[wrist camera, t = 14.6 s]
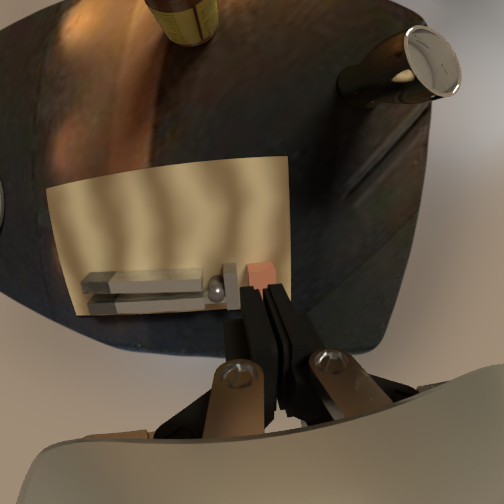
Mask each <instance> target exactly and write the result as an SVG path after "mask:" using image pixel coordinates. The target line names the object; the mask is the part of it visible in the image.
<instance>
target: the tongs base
mask: <svg viewBox="0 0 504 504" xmlns="http://www.w3.org/2000/svg"><path fill="white" fill-rule="evenodd" d="M223 276H224V279H223V277H222V276H220V275H214V276H212V277H211V278H210V280H209V290H205V286H203V288H202V291H193V292H163V293H111V294H94V295H93V296H92V297H91V299H90V300H89V301H88V302H87V307H88V310H89V313H90V315H106V314H118V313H145V312H165V311H183V310H198V309H205V306H206V304H214V303H227V310H236V309H240V299H239V288H238V276H237V266H236V262H233V263H223ZM224 285H225V289H224Z"/></svg>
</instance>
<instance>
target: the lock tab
mask: <svg viewBox="0 0 504 504" xmlns="http://www.w3.org/2000/svg"><path fill="white" fill-rule="evenodd" d="M247 273H248V286H254V289H259V290H260V294H261V297H262V300H263V288H267V286H268V284H276V269H275V267H274V265H273V262H264V263H252V264H247Z"/></svg>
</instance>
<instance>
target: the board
mask: <svg viewBox="0 0 504 504" xmlns="http://www.w3.org/2000/svg"><path fill="white" fill-rule="evenodd" d="M46 193H47V200H48V206H49V212H50V218H51V223H52V228H53V233H54V238H55V242H56V246H57V251H58V255H59V259H60V263H61V266H62V270H63V274H64V277H65V281H66V284H67V287H68V290H69V294H70V297H71V300H72V303H73V306H74V309H75V312H76V314H77V315H90V313H89V310H88V307H87V302H88V301H89V300H90V299H91V297H92V296H93V295H94V294H83V291H82V287H81V283H80V282H81V281H82V280H83V279H84V278H85V277H86V276H87V275H88V274H89V273H90V272H111V271H117V272H122V271H148V270H172V269H195V268H203V277H204V282H203V286H205V290H209V280H210V278H211V277H212V276H214V275H220V276H222V277H223V279H224V276H223V263H233V262H236V266H237V276H238V288H239V287H244V286H248V273H247V264H252V263H264V262H273V265H274V267H275V269H276V284H278V283H282V285H283V287H284V289H285V291H286V293H287V295H288V297H289V299H290V301H291V253H290V206H289V177H288V156H277V157H255V158H239V159H225V160H214V161H203V162H193V163H185V164H176V165H168V166H161V167H154V168H147V169H140V170H134V171H128V172H122V173H116V174H111V175H106V176H100V177H95V178H91V179H86V180H81V181H76V182H72V183H68V184H63V185H59V186H55V187H51V188H47V189H46ZM224 289H225V285H224ZM239 299H240V291H239ZM216 309H227V303H214V304H206V306H205V309H198V310H183V311H165V312H145V313H118V314H106V315H126V314H152V313H171V312H188V311H203V310H216Z"/></svg>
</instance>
